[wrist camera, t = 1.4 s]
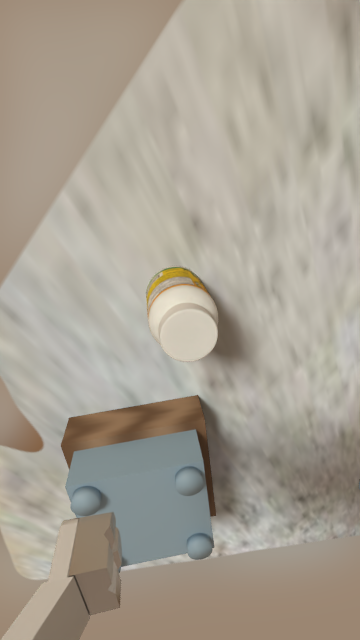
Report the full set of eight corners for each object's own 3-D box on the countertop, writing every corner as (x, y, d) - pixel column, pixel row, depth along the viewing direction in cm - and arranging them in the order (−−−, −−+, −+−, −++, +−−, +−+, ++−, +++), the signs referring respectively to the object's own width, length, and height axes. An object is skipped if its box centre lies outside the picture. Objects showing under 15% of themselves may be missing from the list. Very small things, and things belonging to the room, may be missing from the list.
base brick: (197, 395, 35) (204, 419, 31) (209, 485, 40) (216, 515, 37) (69, 417, 34) (60, 445, 31) (98, 507, 40) (94, 539, 36)
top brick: (195, 429, 32) (205, 470, 27) (206, 511, 36) (216, 557, 32) (74, 451, 31) (62, 497, 26) (101, 532, 36) (95, 583, 31)
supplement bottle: (142, 268, 29) (143, 304, 20) (200, 261, 29) (226, 292, 21) (150, 322, 31) (155, 376, 22) (204, 315, 32) (229, 364, 23)
